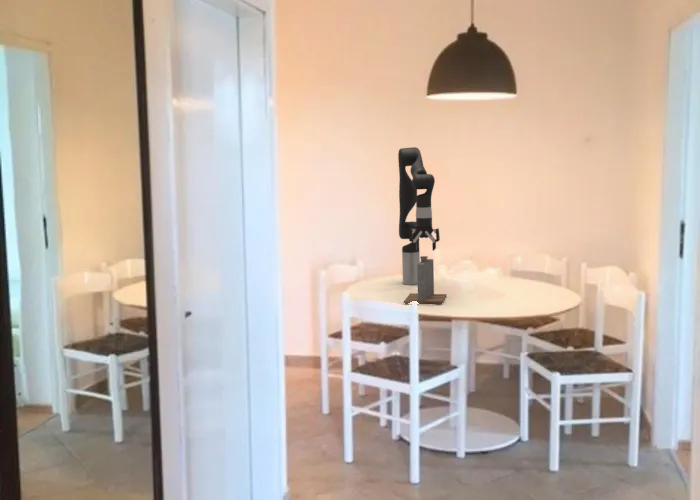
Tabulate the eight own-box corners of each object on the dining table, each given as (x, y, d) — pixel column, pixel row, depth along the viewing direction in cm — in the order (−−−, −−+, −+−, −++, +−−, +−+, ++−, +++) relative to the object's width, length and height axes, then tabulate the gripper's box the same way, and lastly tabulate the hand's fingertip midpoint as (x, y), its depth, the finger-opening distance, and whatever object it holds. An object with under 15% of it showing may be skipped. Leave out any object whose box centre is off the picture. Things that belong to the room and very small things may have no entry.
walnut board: (410, 296, 395) (410, 293, 394) (446, 297, 390) (446, 294, 390) (403, 304, 377) (403, 301, 377) (441, 305, 373) (441, 301, 373)
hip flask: (423, 301, 376) (422, 259, 373) (415, 300, 377) (414, 258, 374) (434, 294, 390) (434, 254, 387) (427, 293, 392) (426, 253, 389)
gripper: (440, 215, 379) (440, 249, 382) (410, 215, 383) (411, 249, 385) (437, 217, 372) (438, 251, 375) (407, 217, 376) (408, 251, 378)
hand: (424, 250), depth 380 cm, fingers open, 8 cm apart
